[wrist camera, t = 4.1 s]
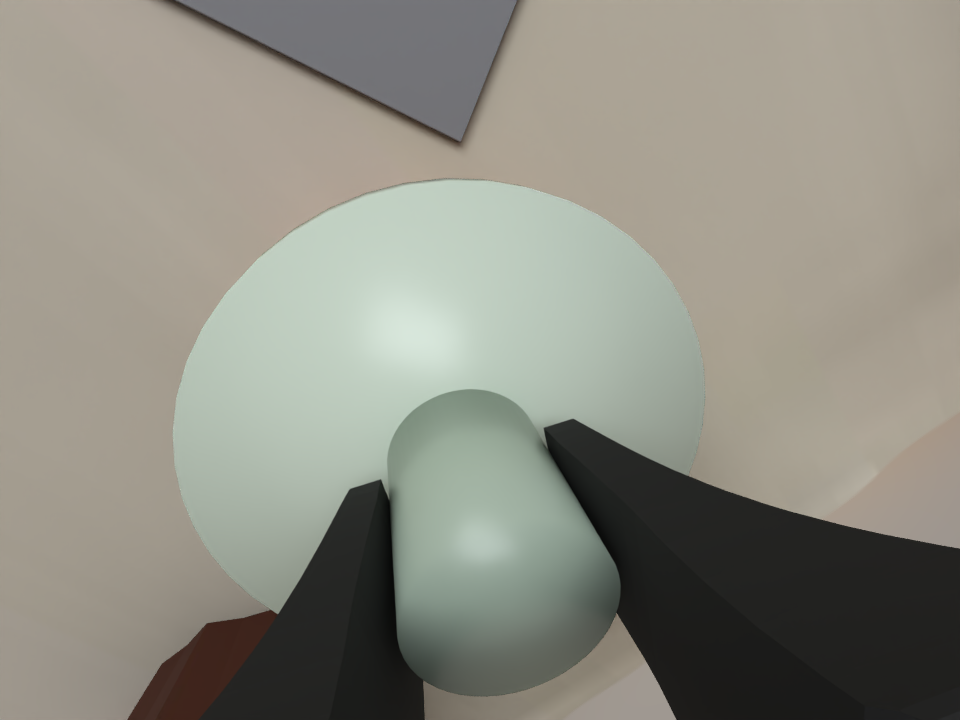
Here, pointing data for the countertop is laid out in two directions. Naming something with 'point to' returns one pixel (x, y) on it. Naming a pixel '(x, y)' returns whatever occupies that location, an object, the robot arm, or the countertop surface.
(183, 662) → the muffin
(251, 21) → the mat
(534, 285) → the lid
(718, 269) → the countertop surface
